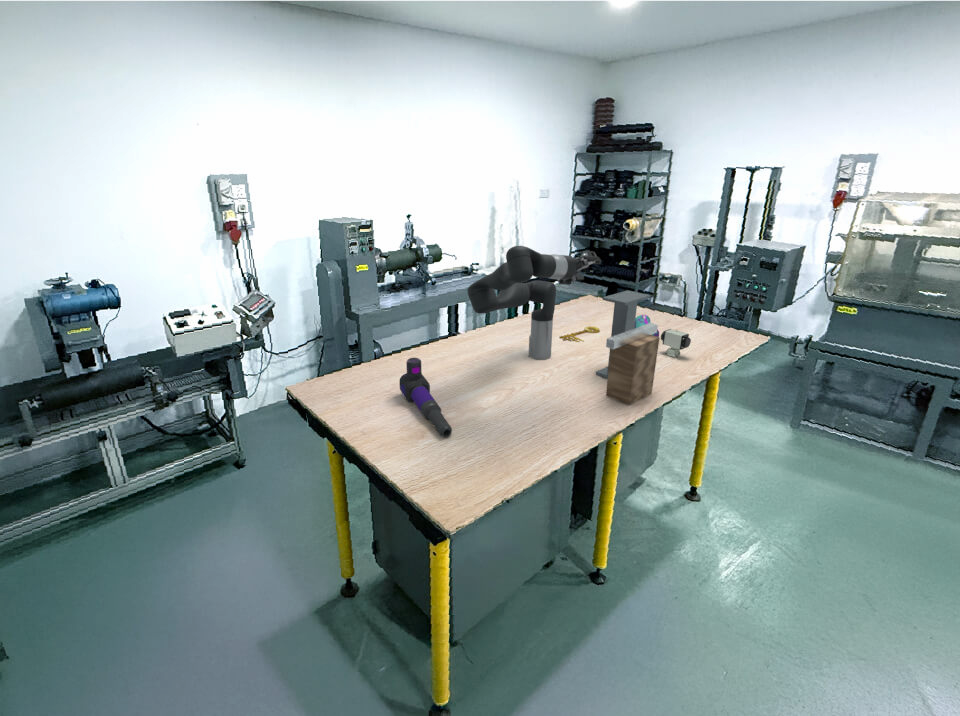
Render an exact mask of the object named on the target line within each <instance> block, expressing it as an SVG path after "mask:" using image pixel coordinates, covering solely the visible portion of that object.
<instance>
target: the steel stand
mask: <svg viewBox="0 0 960 716" xmlns="http://www.w3.org/2000/svg"><path fill="white" fill-rule="evenodd" d="M650 298H651V294H646V293H641V292H637V291H632V290H625V291H621V292H617V293H614V294H609V295H607V296H602V301H605V302H611V303H613V305H614V306H613V315H612V325H611V334H610V335H611V336H610V337H613V336H615V335H618V334H621V333H624V332H626V331H629V330H632V329H634V326H635V318H636V317H637V308H638V302H640V301H644V300H648V299H650ZM610 351H611V349H610V348H609V353H608V354H609V355H608V364H607V365H608V366H606V367H604V368H601V369H598V370H597V371H595V375H596V377H597V376H598V377H600V378H603V379H605V380H608V371H609V361H610Z"/></svg>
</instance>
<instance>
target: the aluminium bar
mask: <svg viewBox="0 0 960 716" xmlns="http://www.w3.org/2000/svg"><path fill="white" fill-rule="evenodd" d="M658 326H659V324H657V323H652V322H651V323H648V324H646V325H643V326H640V327H637V328H635V329H632V330H629V331H626V332H624V333H621V334H618V335H615V336H613V337H611V336H610V337H608V338H606V343H605V347H606V348H608V349H609V350H610V349H616V348H619V347H621V346H624V345H626V344H629V343H631V342H634V341H637V340H639V339H642V338H644V337H647V336H649V335H652V334H655V333H657V329H658Z"/></svg>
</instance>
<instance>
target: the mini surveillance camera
mask: <svg viewBox="0 0 960 716" xmlns="http://www.w3.org/2000/svg"><path fill="white" fill-rule="evenodd" d="M660 340H661V342H662V345H664V346H666V347H668V348H667V349H666V353H667V354H666V355H667V356H668V357H671V358H673V359H674V358H676V357H680V355H681V351H682V350H684V349H687V348H689V346H690V345H691V343H692V339H691V338H690V334H689V333H687V332H684V331H680V330H679V329H672V328H669V329H666V330H664V331H662V333H661V334H660Z"/></svg>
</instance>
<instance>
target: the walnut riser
mask: <svg viewBox="0 0 960 716" xmlns="http://www.w3.org/2000/svg"><path fill="white" fill-rule="evenodd" d="M660 339H661V336H659V337H656V336H653V335H649V336H647V337H644V338H642V339H639V340H637V341H634V342H631V343H629V344H626V345H624V346H621V347H619V348H616V349H611V351H610V350H609V352H610V361H609V360H608V362H609V371H608V379H606V380H607V382H606V390H605V396H607V397H609V398H611V399H613V400H616V401H619V402H621V403H624V404H626V405H628V406H630V405H632V404H635V403H637V402H639V401H640V400H641V399H644V398H646V397H647V396H650V395H651V394H652V393H653V388H654V387H653V386H654V380H655V379H654V378H655V373H656V365H657V358H658V352H659V345H660V344H659V343H660Z"/></svg>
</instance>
